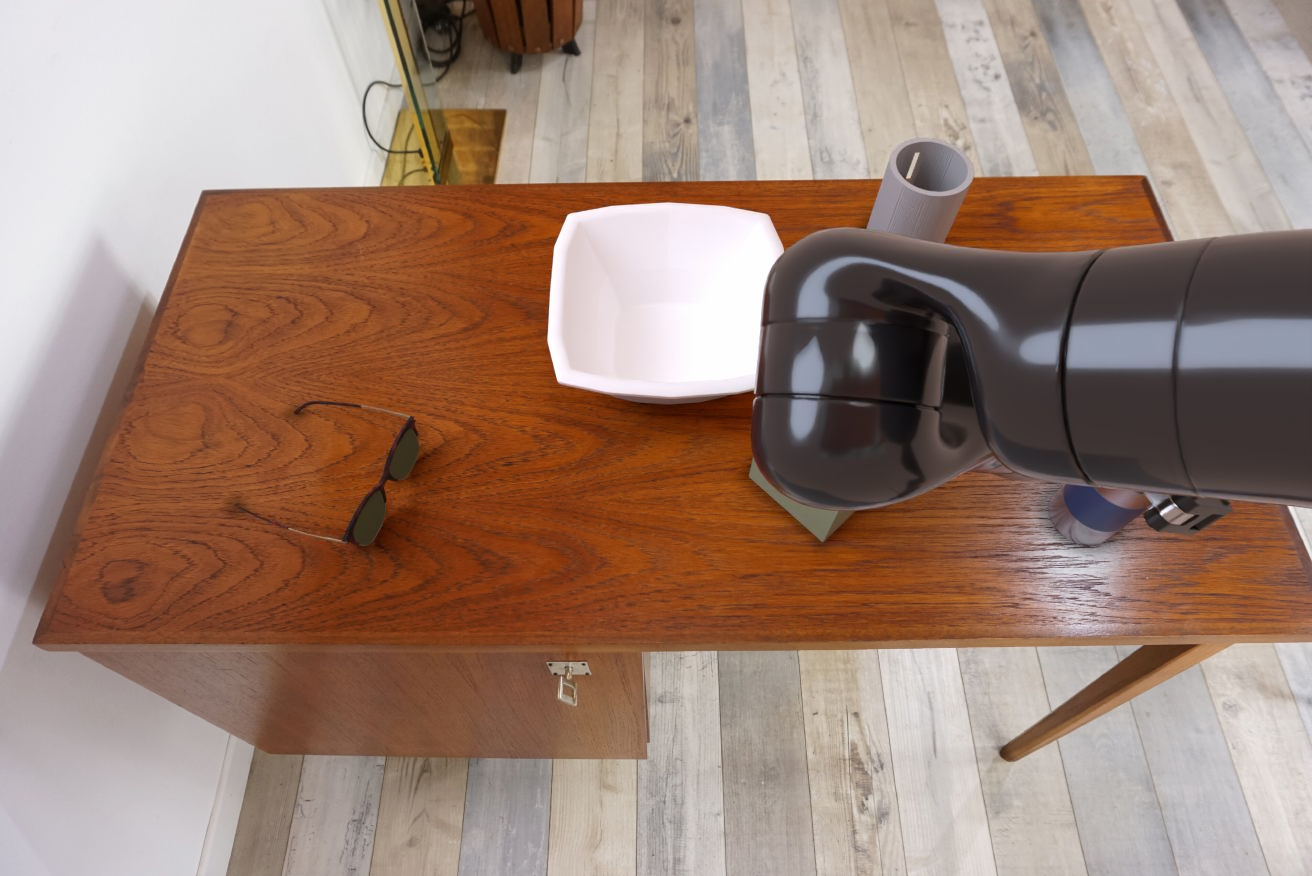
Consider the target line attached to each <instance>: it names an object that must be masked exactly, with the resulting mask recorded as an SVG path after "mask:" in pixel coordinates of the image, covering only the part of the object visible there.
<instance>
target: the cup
mask: <svg viewBox="0 0 1312 876" xmlns="http://www.w3.org/2000/svg"><path fill="white" fill-rule="evenodd" d="M917 153H918V155H917V159H916V161H915V164H914V167H913V170H912V172H911V175H910V177H909V181H907V180H906V179H907V178H908V177H907V176H908V174H909V171H910V168H911V166H912V163H913V160H914V159H915V158H914V157H915V154H917ZM974 177H975V168H974V164H973V162H972V159H970V157H969V156H968V154H967V153H966V152H964V150H962V149H961V148H960V147H958V146H957V145H955V144H953V143H951V142H948V141H946V140H943V139H939V138H935V137H914V138H910V139H908V140H905V141H903V142H900V143H899V144H897V146H896V147H895V148H893V150H892V152H891V154H890V156H889V159H888V162H887V165H886V168H885V172H884V175H883V177H882V181H881V183H880V186H879V189H878V191H877V195H876V199H875V200H874V204H873V207H872V210H871V213H870V217H869V219H868V223H867V225H866V228H865V229H872V230H879V231H884V232H889V233H894V234H899V235H904V236H909V237H914V238H918V239H923V240H928V241H933V242H938V243H944V244H945V242H946V239H947V237H948V235H949V233H950V230H951V228H952V226H953V224H954V222H955V220H956V218H957V215H958V213H959V211H960V209H961V207H962V205H963V202H964V200H965V198H966V195H967V193H968V191H969V189H970V187H971V185H972V182H973V181H974Z"/></svg>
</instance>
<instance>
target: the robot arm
mask: <svg viewBox="0 0 1312 876" xmlns="http://www.w3.org/2000/svg"><path fill="white" fill-rule="evenodd" d="M760 328H761V329H760V334H759V345H758V355H757V366H756V377H755V388H754V391H753V395H754V397H755V398H754V399H753V400H752V409H751V411H752V412H751V422H750V448H751V452H752V456H753V457H754V461H755V463H756V465H757V467H758V469H759V470H760V472H761V474H762V475H763V476H764V477H765V479H766V480H767V481H768V482H769V483H770V484H771V485H772V486H773V487H774V488H775V489H776V490H778V491H779V492H780V493H781V494H783V495H785V496H786V497H788V498H790V499H792V500H794V501H795V502H798V503H800V504H803V505H806V506H809V507H812V508H818V509H823V510H831V511H855V512H858V511H859V512H860V511H867V510H873V509H878V508H885V507H889V506H893V505H896V504H900V503H903V502H906V501H910V500H912V499H914V498H917V497H920V496H922V495H925V494H926V493H929V492H932V491H935V490H936V489H937V488H938V489H939V487H942V486H943V485H945V484H947V483H949V482H951V481H952V480H954V479H956V478H958V477H959V476H961V475H964V474H966V473H977V474H989V475H990V474H991V475H993V476H996V477H1000V478H1002V479H1007V480H1012V481H1013V480H1014V481H1019V482H1034V483H1046V484H1047V483H1048V484H1062V485H1064V484H1072V485H1081V486H1090V487H1103V488H1109V489H1119V490H1129V491H1134V492H1135V493H1137V494H1139V495H1146V497H1147V498H1148V499H1149V500H1150V501H1151V503H1152V504H1151V505H1149V506H1148V507H1147V510H1146V511H1145V512H1143V513H1142V517H1143V519H1144V521H1145V524H1147V526H1148V527H1149V528H1150V529H1152V530H1154V531H1156V532H1158V533H1167V534H1175V535H1184V536H1185V535H1186V536H1195V535H1196V534H1199V532H1201V531H1203V530H1204V529H1206V528H1208V527H1209V526H1211V525H1213V524H1214V523H1216V522H1218V521H1219V520H1221V519H1222V518H1224V517H1225V516H1228V515H1229V514H1230V513H1232V512H1234V508H1233V506H1232V505H1231V504H1232V503H1231V501H1235V502H1242V503H1243V502H1244V503H1253V504H1254V503H1255V504H1264V505H1265V504H1266V505H1274V506H1284V507H1285V506H1286V507H1294V508H1304V509H1310V510H1311V509H1312V228H1300V229H1299V228H1298V229H1281V230H1266V231H1257V232H1248V233H1247V232H1246V233H1236V234H1227V235H1221V236H1210V237H1200V238H1191V239H1181V240H1175V241H1172V240H1171V241H1165V242H1164V241H1163V242H1155V243H1144V244H1136V245H1127V246H1117V247H1112V248H1110V247H1108V248H1100V249H1099V248H1097V249H1089V250H1076V251H1075V250H1074V251H1048V252H1046V251H1044V252H1043V251H1014V250H1003V249H1002V250H1001V249H1000V250H998V249H989V248H979V247H970V246H961V245H955V244H948V243H945V242H944V243H938V242H933V241H928V240H923V239H918V238H914V237H909V236H904V235H899V234H894V233H889V232H884V231H879V230H872V229H866V228H861V227H853V226H844V227H843V226H841V227H839V226H838V227H831V228H825V229H821V230H817V231H816V232H812V233H810V234H807V235H806V236H804V237H803V238H800V239H798V240H797V241H796V242H794V243H793V244H792V245H790V246H789V247H788V248H786V249H785V250H784V252H783V253H782V254H781V255H780V256H779V257H778V259H777V260H776V261H775V263H774V264H773V265H772V267H771V269H770V271H769V273H768V275H767V278H766V282H765V286H764V290H763V299H762V308H761V319H760ZM753 457H752V458H753Z"/></svg>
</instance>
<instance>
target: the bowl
mask: <svg viewBox="0 0 1312 876" xmlns="http://www.w3.org/2000/svg"><path fill="white" fill-rule="evenodd" d="M784 247H785V246H784V245H783V242H782V241H781V239H780V236H779V234H778V232H777V230H776V227H775V225H774V223H773V221H772V219H771V217H770V215H769V214H767V213H764V212H757V211H752V210H747V209H741V208H736V207H731V206H726V205H713V204H699V203H697V204H696V203H683V202H655V203H654V202H653V203H638V204H621V205H619V204H618V205H610V206H604V207H599V208H594V209H587V210H582V211H577V212H571V213H569V214H567V216H566V217H565V221H564V223H563V225H562V227H561V229H560V232H559V234H558V237H557V239H556V242H555V244H554V247H553V254H552V255H553V257H552V268H551V277H550V278H551V279H550V288H549V289H550V290H549V303H548V304H549V309H548V326H547V345H548V350H549V354H550V357H551V361H552V364H553V370H554V374H555V377H556V381H557V383H558V384H559V385H562V386H565V387H571V388H575V389H581V390H585V391H590V392H595V393H599V394H604V395H608V396H611V397H612V398H616V399H620V400H625V401H628V402H629V401H630V402H635V403H643V404H656V405H679V404H694V403H702V402H707V401H712V400H717V399H722V398H725V397H727V396H731V395H733V396H734V395H740V394H745V393H749V392H754V388H755V377H756V366H757V355H758V345H759V334H760V329H761V328H760V319H761V308H762V299H763V290H764V286H765V282H766V278H767V275H768V273H769V271H770V269H771V267H772V265H773V264H774V263H775V261H776V260H777V259H778V257H779V256H780V255H781V254H782V253H783V252H784V251H785V250H784V249H785V248H784Z"/></svg>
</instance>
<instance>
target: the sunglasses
mask: <svg viewBox="0 0 1312 876" xmlns="http://www.w3.org/2000/svg"><path fill="white" fill-rule="evenodd" d="M312 405H328V406H329V405H330V406H342V407H350V408H358V409H368V410H374V411H379V412H384V413H388V414H392V415H396V416H399V417H401V418H404V419H407V420H406V422H405V423H404V424H403V426H402V427H401V429H400V431H399V432H398V434H397V435H396V437H395V439H394V441H393V443H392V446H391V448H390V449H389V452H388V454H387V457H386V460H385V462H384V466H383V467H384V468H383V472H382V476H381V478H380V479H379V481H378V483H377V484H375V485H374V486H373V487H372V488H371V489H370V490H368V492H367V493H366V494H365V496H364V497H363V499H362V500H361V502H360V503H359V505H358V506H357V508H356V509H355V511H354V513H353V515H352V517H351V519H350V521H349V523H348V525H347V527H346V529H345V531H344V534H343V536H342V539H337V538H334V537H325V536H320V535H315V534H311V533H308V532H307V533H306V532H303V531H299V530H296V529H294V528H291V527H289V526H287V525H283V524H281V523H278V522H276V521H273V520H270V519H268V518H266V517H263V516H261V515H259V514H256V513H254V512H252V511H250V510H249V509H246V508H244V507H242V506H241V505H238V504H236V503H235V504H234V507H236V508H237V509H239V510H241V511H243V512H245V513H247V514H248V515H251V516H253V517H256V518H258V519H260V520H262V521H264V522H265V521H266V522H267V523H270V524H272V525H275V526H278V527H280V528H283V529H285V530H289V531H292V532H295V533H299V534H302V535H306V536H309V537H314V538H317V539H321V540H327V541H329V542H334V543H335V542H336V543H341V544H345V545H349V544H350V543H351V544H353V545H355V546H357V547H359V546H363V547H365V546H366V547H367V546H370V544H372V542H373V541H374V540H375V539H376V538H377V536H378V533H379V532H380V531H381V529H382V526H383V524H384V522H385V518H386V513H387V505H386V504H387V502H388V498H387V495H386V491H385V490H386V489H385V485H386V484H387V482H388V481H391V482H395V483H397V482H398V481H403V480H405V479H406V478H407V477H408V476H409V475H410V473H411V472H412V470H413V468H414V466H415V464H416V462H417V459H418V457H419V453H420V441H419V439H418V436H419V432H418V429H417V427H416V421H417V420H416V418H415V416H414V415H407V414H404V413H402V412H395V411H392V410H389V409H388V410H387V409H383V408H380V407H379V408H378V407H374V406H368V405H362V404H355V403H348V402H340V401H327V400H312V401H307V402H304V403H303V404H301V405H300V406H299V407H297V408H296V409H295V410H294V411H293V414H295V415H297V414H298V413H300V412H301V411H302V410H304V409H305V408H306V407H308V406H312Z"/></svg>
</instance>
